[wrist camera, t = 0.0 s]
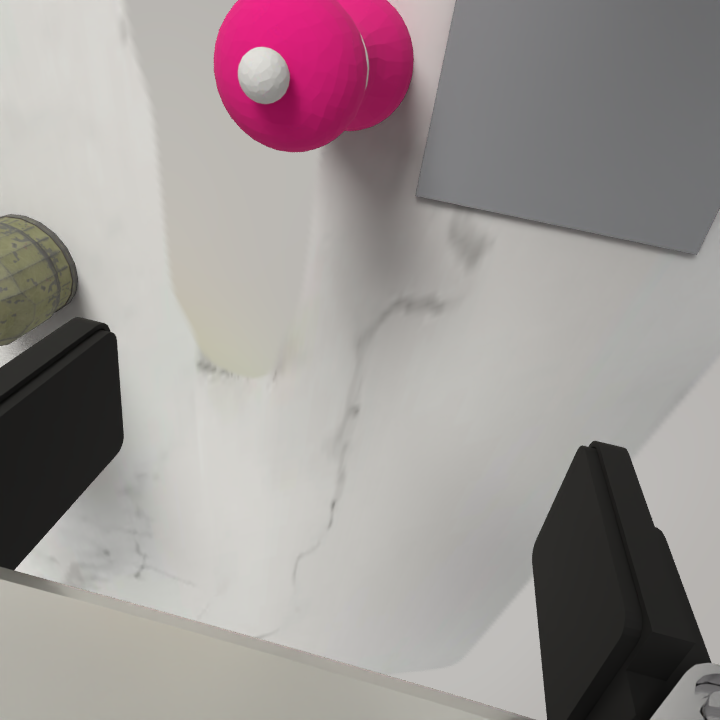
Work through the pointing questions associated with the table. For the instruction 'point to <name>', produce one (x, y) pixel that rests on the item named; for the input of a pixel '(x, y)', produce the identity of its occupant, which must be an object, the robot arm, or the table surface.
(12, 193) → the table surface
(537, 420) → the table surface
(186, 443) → the table surface
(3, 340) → the thermos
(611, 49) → the mat
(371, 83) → the pepper mill
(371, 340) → the table surface
